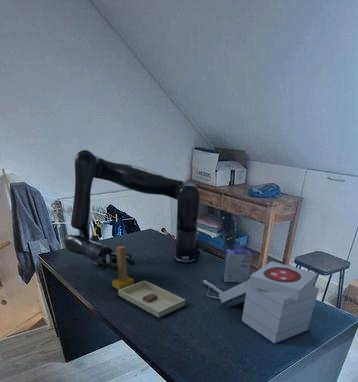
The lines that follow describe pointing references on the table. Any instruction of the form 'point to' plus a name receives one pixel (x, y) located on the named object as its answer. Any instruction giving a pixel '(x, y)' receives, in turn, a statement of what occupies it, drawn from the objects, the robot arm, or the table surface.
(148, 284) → the tray
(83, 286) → the table surface
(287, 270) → the pizza boxes
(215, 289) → the crossbow
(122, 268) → the peg stand
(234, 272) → the ink cartridge box
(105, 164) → the robot arm
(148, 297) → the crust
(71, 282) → the table surface
